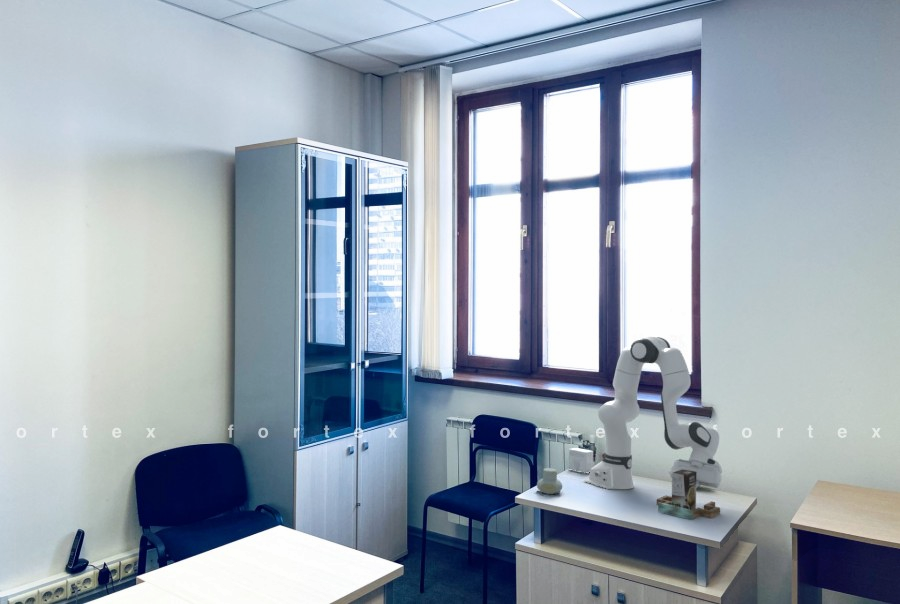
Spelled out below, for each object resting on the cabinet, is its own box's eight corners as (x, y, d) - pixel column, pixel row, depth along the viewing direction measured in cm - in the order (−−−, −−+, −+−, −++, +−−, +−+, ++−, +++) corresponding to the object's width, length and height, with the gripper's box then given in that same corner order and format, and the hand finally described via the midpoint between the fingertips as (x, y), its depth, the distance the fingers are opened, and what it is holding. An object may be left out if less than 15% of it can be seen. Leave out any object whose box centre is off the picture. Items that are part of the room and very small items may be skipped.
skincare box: (593, 471, 333) (593, 450, 333) (585, 474, 329) (586, 452, 329) (575, 467, 341) (576, 446, 341) (568, 470, 336) (568, 448, 336)
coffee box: (686, 516, 266) (686, 475, 266) (670, 512, 270) (671, 472, 270) (696, 511, 272) (697, 471, 272) (681, 507, 277) (682, 468, 277)
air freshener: (562, 491, 299) (563, 468, 299) (561, 496, 291) (561, 472, 291) (538, 488, 301) (538, 466, 301) (535, 494, 293) (536, 470, 293)
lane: (647, 509, 275) (647, 500, 275) (672, 498, 290) (672, 490, 290) (703, 522, 259) (703, 513, 259) (726, 510, 274) (726, 502, 274)
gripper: (673, 454, 288) (662, 481, 281) (721, 462, 274) (711, 491, 267) (678, 463, 291) (667, 490, 284) (726, 471, 277) (716, 500, 270)
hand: (689, 491), depth 275 cm, fingers closed, pressing on coffee box
